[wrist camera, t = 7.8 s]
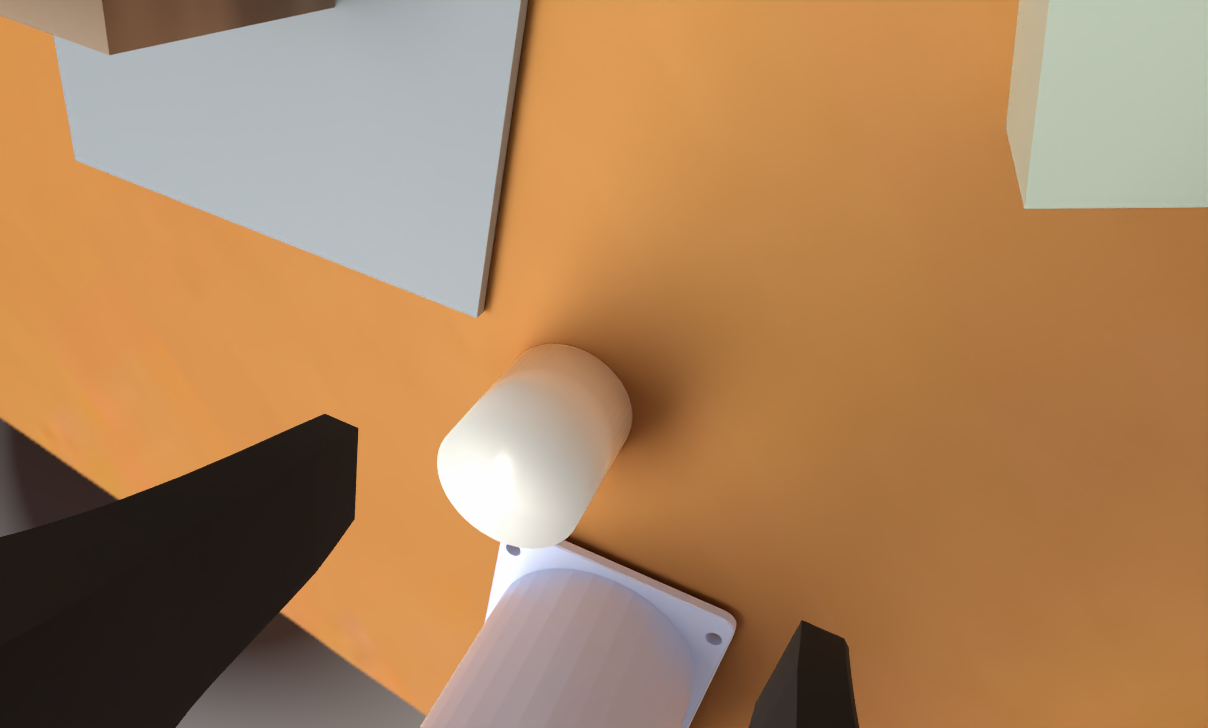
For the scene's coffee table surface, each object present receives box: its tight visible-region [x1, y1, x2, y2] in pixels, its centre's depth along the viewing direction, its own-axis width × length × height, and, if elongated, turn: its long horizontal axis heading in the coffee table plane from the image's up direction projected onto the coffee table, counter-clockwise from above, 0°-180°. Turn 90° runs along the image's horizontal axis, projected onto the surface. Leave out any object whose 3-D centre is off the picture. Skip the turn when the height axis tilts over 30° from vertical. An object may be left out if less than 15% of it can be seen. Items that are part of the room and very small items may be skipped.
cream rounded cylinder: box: [437, 344, 632, 549], centre depth 22 cm, size 4×4×4 cm
